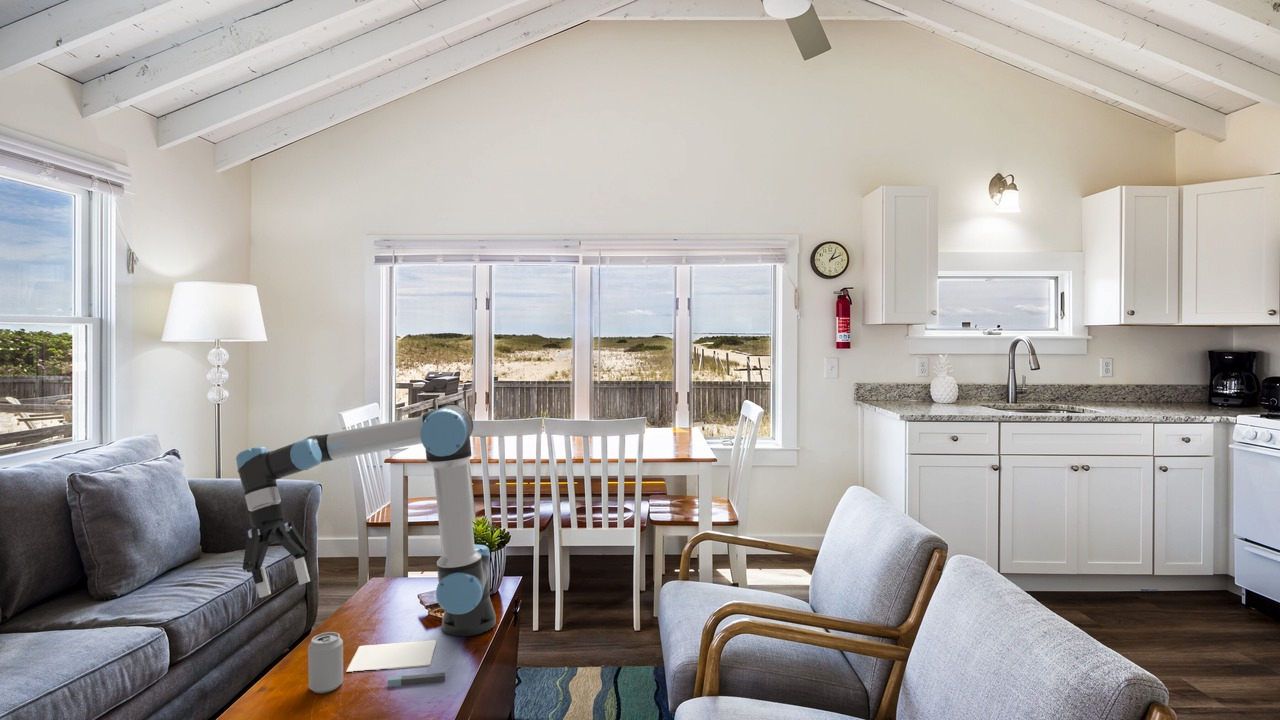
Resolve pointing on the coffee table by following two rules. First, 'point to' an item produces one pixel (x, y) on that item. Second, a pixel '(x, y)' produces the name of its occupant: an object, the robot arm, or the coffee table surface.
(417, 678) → the marker
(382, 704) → the coffee table surface
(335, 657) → the can
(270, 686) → the coffee table surface
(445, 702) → the coffee table surface
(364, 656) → the paper
